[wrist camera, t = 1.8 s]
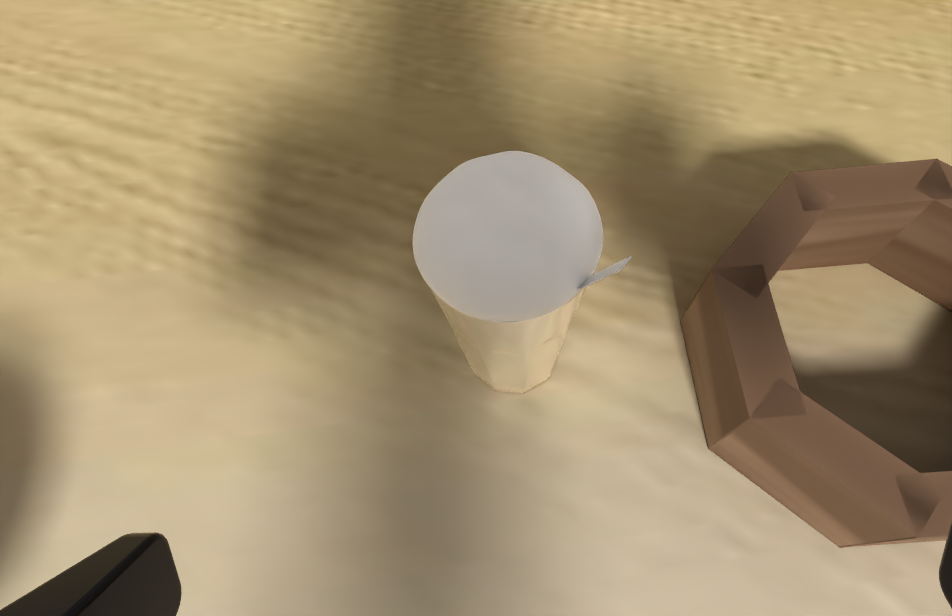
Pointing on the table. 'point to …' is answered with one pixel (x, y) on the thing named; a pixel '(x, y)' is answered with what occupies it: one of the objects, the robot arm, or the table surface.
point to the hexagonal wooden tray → (769, 365)
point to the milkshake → (510, 261)
